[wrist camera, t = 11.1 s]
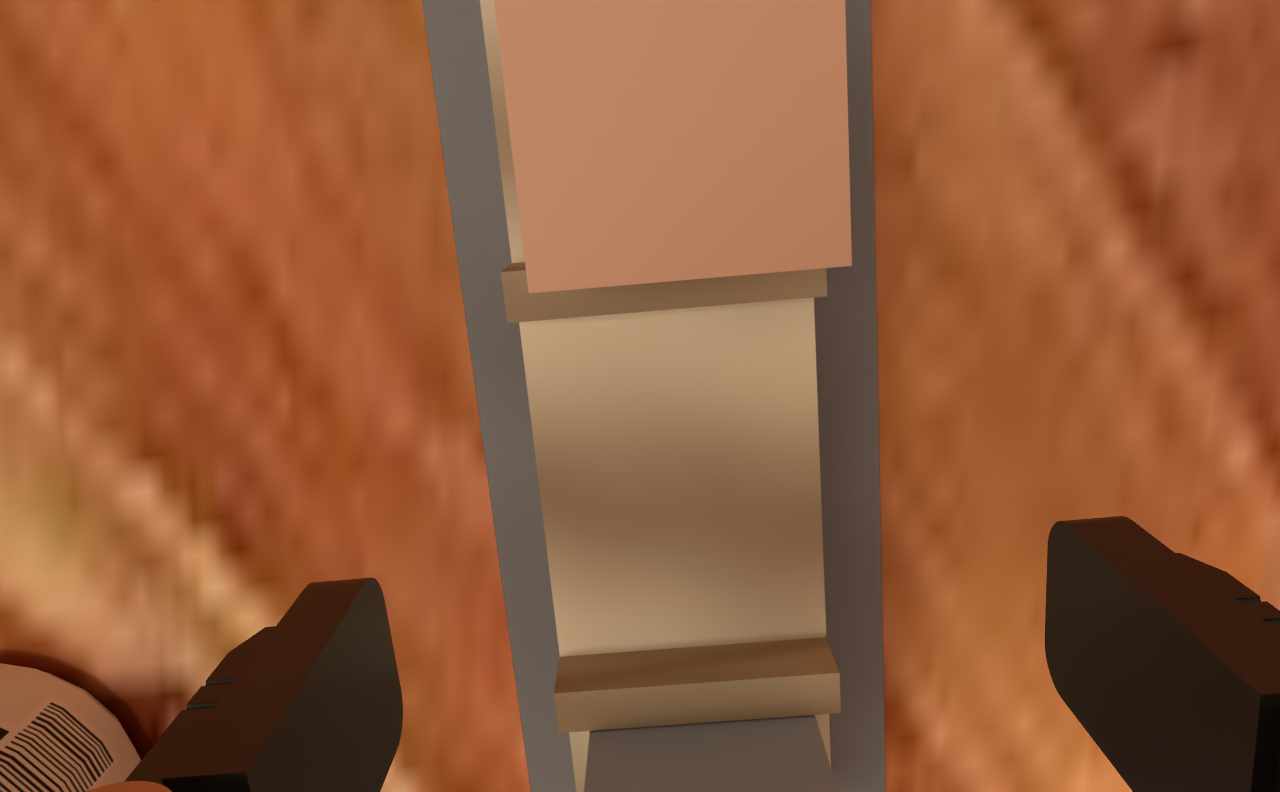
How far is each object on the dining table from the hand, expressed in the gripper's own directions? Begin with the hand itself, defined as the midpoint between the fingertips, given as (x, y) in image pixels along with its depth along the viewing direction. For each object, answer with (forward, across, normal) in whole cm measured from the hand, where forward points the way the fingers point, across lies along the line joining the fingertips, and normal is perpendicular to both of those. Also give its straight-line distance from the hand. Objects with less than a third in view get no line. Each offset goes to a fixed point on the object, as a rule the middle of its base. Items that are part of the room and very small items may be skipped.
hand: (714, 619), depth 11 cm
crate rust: (+5, 0, -6) cm, 8 cm away
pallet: (+10, 0, 0) cm, 10 cm away
